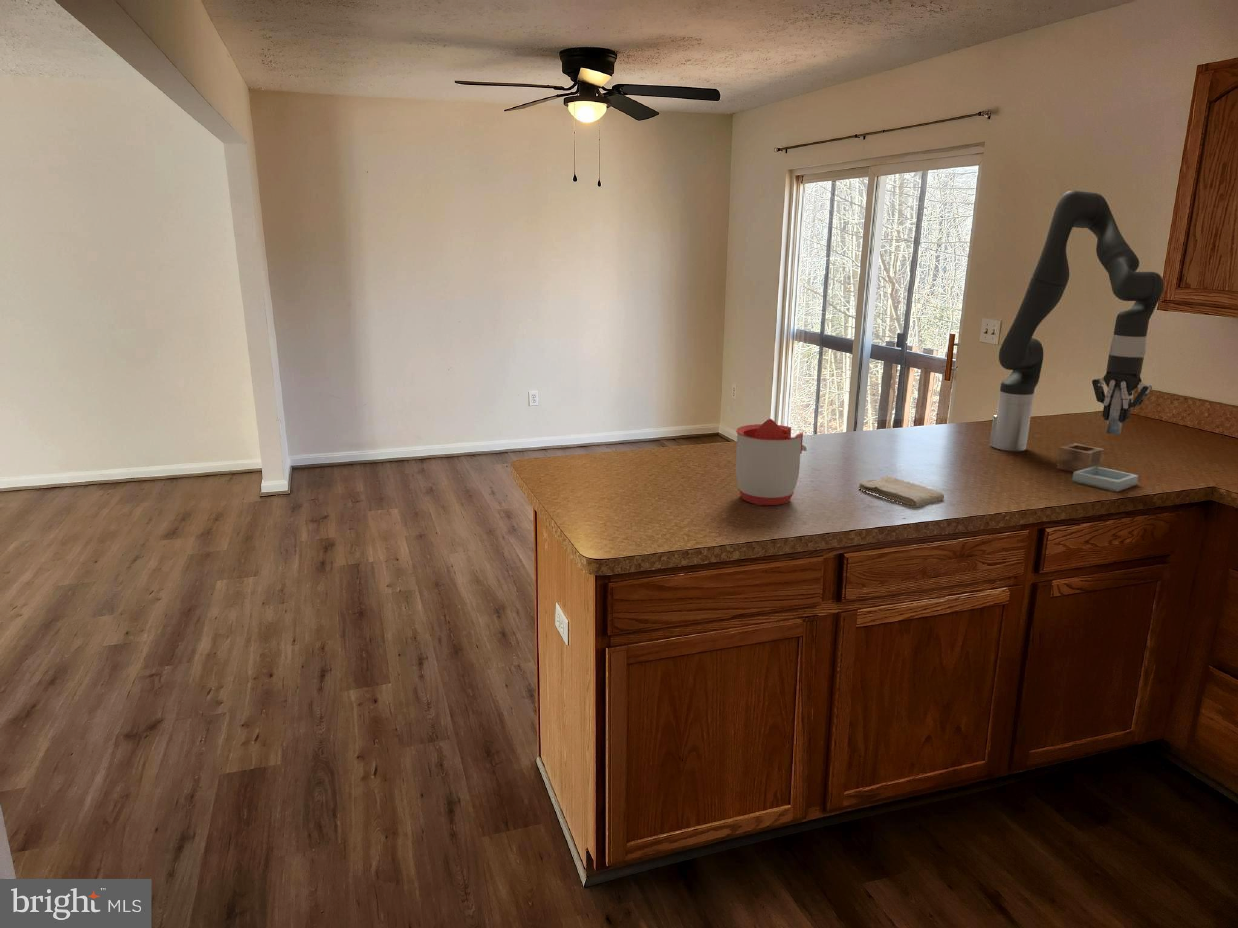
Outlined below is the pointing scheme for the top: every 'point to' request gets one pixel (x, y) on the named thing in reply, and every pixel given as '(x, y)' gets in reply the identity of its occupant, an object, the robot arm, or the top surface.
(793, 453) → the citrus juicer
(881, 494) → the washcloth
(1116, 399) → the pin
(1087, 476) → the tray
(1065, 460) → the square hollow tube
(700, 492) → the top surface
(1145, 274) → the robot arm
